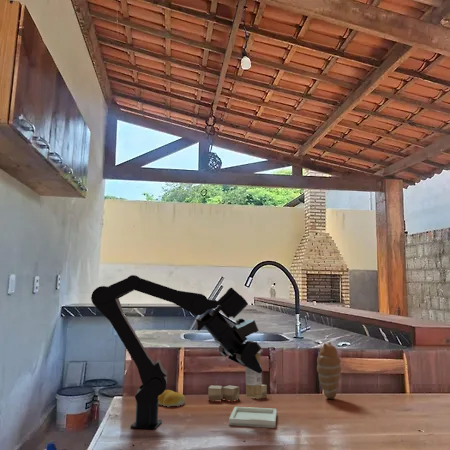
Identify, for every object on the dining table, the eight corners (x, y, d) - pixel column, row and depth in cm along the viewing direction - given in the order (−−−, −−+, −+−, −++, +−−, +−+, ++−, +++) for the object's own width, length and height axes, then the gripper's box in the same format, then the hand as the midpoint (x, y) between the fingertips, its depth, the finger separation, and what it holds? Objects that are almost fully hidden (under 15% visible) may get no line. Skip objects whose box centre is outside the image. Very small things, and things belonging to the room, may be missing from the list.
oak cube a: (220, 401, 129) (220, 388, 130) (208, 401, 130) (208, 388, 130) (222, 398, 133) (222, 385, 134) (210, 398, 134) (210, 385, 134)
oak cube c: (266, 398, 135) (266, 385, 135) (257, 399, 133) (257, 386, 133) (259, 395, 138) (259, 383, 139) (249, 397, 136) (249, 384, 136)
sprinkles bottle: (255, 395, 114) (253, 345, 117) (265, 397, 110) (263, 346, 114) (242, 397, 111) (241, 346, 115) (252, 399, 108) (251, 346, 111)
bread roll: (171, 409, 120) (172, 395, 121) (151, 404, 126) (152, 390, 127) (190, 404, 127) (191, 390, 127) (171, 399, 132) (171, 386, 133)
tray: (275, 427, 104) (275, 421, 104) (229, 425, 105) (229, 418, 106) (276, 414, 115) (276, 408, 116) (234, 412, 117) (234, 406, 117)
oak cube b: (232, 402, 129) (232, 389, 130) (222, 400, 131) (222, 387, 132) (239, 399, 132) (239, 386, 133) (229, 398, 134) (229, 385, 135)
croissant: (323, 394, 140) (321, 340, 143) (345, 397, 136) (343, 342, 139) (313, 399, 133) (312, 342, 136) (336, 403, 128) (334, 344, 132)
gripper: (254, 310, 106) (291, 353, 107) (229, 308, 123) (262, 345, 125) (224, 342, 102) (264, 386, 103) (203, 335, 119) (238, 373, 121)
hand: (257, 370), depth 113 cm, fingers closed on sprinkles bottle, 4 cm apart
